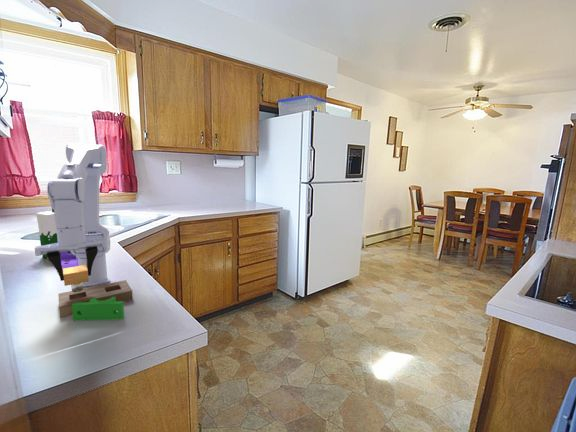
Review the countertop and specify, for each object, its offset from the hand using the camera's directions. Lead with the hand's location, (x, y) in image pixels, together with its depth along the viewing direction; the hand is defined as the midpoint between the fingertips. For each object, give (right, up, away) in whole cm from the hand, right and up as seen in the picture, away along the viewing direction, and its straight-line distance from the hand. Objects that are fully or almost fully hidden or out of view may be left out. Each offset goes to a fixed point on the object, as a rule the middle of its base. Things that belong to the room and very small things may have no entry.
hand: (76, 276), depth 75 cm
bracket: (-24, -3, +30) cm, 39 cm away
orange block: (0, -4, +1) cm, 4 cm away
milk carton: (-38, 0, +41) cm, 56 cm away
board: (+3, -8, +4) cm, 9 cm away
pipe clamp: (+9, -10, -3) cm, 14 cm away
